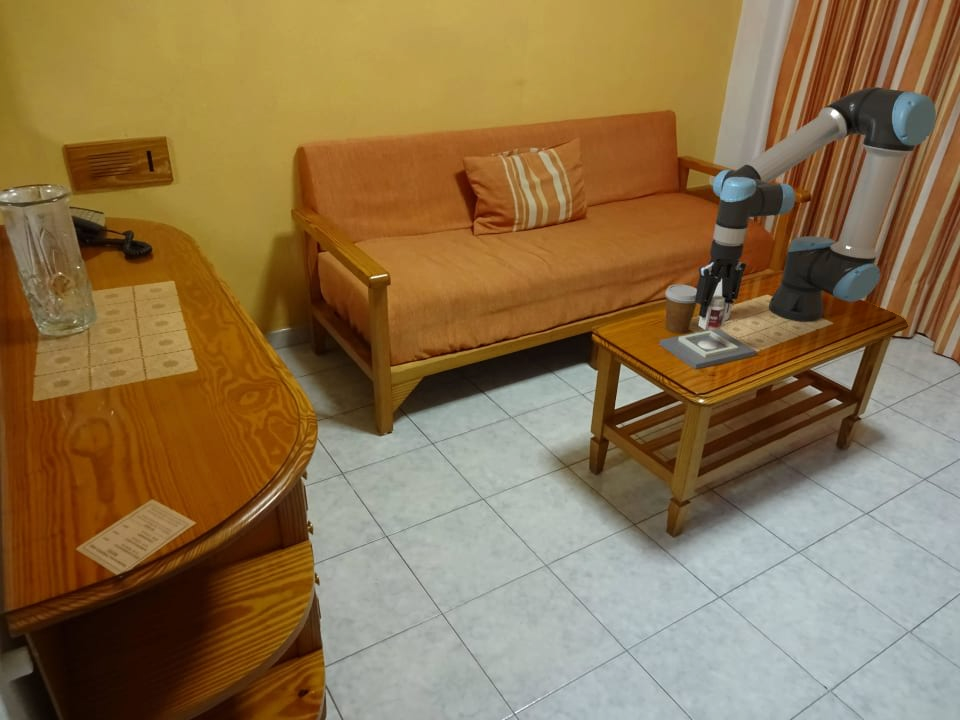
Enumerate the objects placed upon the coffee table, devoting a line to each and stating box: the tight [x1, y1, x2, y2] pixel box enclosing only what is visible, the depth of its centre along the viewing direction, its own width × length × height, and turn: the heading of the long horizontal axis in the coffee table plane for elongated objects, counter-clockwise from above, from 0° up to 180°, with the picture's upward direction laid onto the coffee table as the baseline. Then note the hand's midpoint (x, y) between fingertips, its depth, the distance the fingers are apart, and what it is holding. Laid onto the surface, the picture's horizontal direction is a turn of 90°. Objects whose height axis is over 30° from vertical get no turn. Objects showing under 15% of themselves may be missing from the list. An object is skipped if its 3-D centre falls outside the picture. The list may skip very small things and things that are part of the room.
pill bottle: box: [707, 295, 725, 330], centre depth 179 cm, size 5×5×8 cm
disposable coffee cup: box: [664, 284, 698, 334], centre depth 193 cm, size 10×10×12 cm
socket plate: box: [659, 328, 757, 370], centre depth 183 cm, size 20×15×2 cm
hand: (711, 325), depth 181 cm, fingers closed on pill bottle, 5 cm apart
